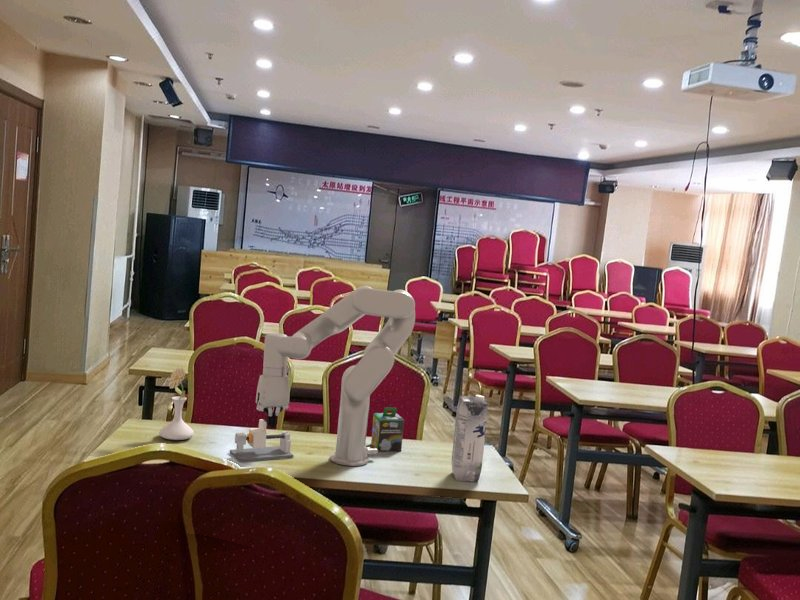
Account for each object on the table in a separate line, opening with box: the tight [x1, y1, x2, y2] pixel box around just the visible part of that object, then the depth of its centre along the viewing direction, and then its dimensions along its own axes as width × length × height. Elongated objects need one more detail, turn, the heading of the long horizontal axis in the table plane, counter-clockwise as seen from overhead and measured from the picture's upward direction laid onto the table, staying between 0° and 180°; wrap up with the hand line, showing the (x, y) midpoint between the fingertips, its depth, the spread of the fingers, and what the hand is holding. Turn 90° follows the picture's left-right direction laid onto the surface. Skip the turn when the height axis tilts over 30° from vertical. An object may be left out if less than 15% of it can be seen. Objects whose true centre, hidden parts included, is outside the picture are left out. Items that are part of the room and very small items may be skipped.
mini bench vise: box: [229, 431, 294, 463], centre depth 238 cm, size 18×10×7 cm, turn 122°
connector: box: [234, 432, 247, 455], centre depth 234 cm, size 3×3×6 cm
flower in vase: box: [158, 366, 195, 441], centre depth 246 cm, size 13×11×25 cm
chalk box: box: [370, 407, 405, 452], centre depth 260 cm, size 9×9×15 cm
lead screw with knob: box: [246, 433, 285, 444], centre depth 238 cm, size 16×3×3 cm, turn 122°
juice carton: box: [451, 394, 489, 483], centre depth 235 cm, size 9×10×27 cm
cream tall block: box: [247, 418, 268, 448], centre depth 237 cm, size 4×5×8 cm
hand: (271, 427), depth 239 cm, fingers closed
